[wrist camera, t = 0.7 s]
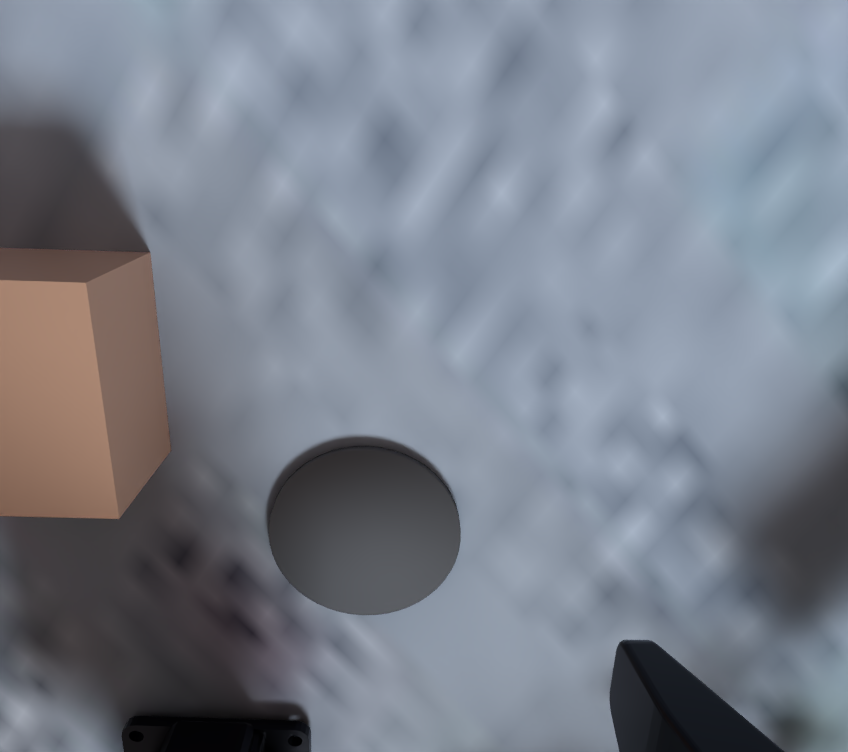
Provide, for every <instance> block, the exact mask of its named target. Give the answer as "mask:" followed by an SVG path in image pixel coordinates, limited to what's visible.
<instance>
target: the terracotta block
mask: <svg viewBox="0 0 848 752" xmlns="http://www.w3.org/2000/svg"><path fill="white" fill-rule="evenodd" d="M170 451H171V445H170V435H169V426H168V416H167V407H166V397H165V388H164V378H163V369H162V359H161V350H160V340H159V331H158V321H157V312H156V302H155V293H154V283H153V274H152V264H151V255H150V252H124V251H92V250H60V249H29V248H0V516H17V517H59V518H101V519H120V517H121V516H122V515H123V513H124V512H125V511H126V509H127V508H128V507H129V505H130V504H131V503H132V502H133V500H134V499H135V498H136V496H137V495H138V494H139V492H140V491H141V490H142V488H143V487H144V486H145V484H146V483H147V482H148V480H149V479H150V478H151V476H152V475H153V474H154V472H155V471H156V470H157V469H158V467H159V466H160V465H161V463H162V462H163V461H164V459H165V458H166V457H167V455H168V454H169V453H170Z"/></svg>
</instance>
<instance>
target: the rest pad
mask: <svg viewBox="0 0 848 752" xmlns="http://www.w3.org/2000/svg"><path fill="white" fill-rule="evenodd" d="M269 540H270V546H271V550H272V554H273V556H274V559H275V561H276V563H277V565H278V567H279V569H280V570H281V572H282V574H283V575H284V576H285V577H286V579H287V580H288V581H289V582H290V583H291V584H292V585H293V586H294V587H295V588H296V589H297V590H298V591H299V592H300V593H302V594H303V595H304V596H306V597H307V598H309V599H310V600H312V601H314V602H316V603H317V604H320V605H322V606H324V607H326V608H329V609H332V610H335V611H339V612H343V613H348V614H356V615H378V614H386V613H391V612H395V611H399V610H401V609H404V608H407V607H410V606H412V605H414V604H416V603H418V602H420V601H421V600H423V599H424V598H426V597H427V596H429V595H430V594H431V593H432V592H433V591H435V590H436V589H437V588H438V587H439V586H440V585H441V584H442V582H443V581H444V580H445V579H446V577H447V576H448V574H449V573H450V571H451V570H452V568H453V565H454V563H455V561H456V558H457V555H458V552H459V546H460V522H459V515H458V511H457V508H456V505H455V502H454V500H453V498H452V496H451V494H450V492H449V491H448V489H447V488H446V486H445V485H444V483H443V482H442V481H441V480H440V479H439V478H438V477H437V475H436V474H434V473H433V472H432V471H431V470H430V469H429V468H427V467H426V466H425V465H423V464H422V463H420V462H419V461H417V460H415V459H413V458H411V457H409V456H407V455H405V454H402V453H399V452H396V451H393V450H389V449H385V448H379V447H369V446H359V447H348V448H341V449H338V450H334V451H330V452H327V453H325V454H322V455H320V456H318V457H316V458H314V459H312V460H310V461H309V462H307V463H306V464H304V465H303V466H302V467H300V468H299V469H298V470H297V471H296V472H295V473H294V474H293V475H292V476H291V477H289V479H288V480H287V481H286V483H285V484H284V485H283V487H282V488H281V490H280V492H279V494H278V496H277V498H276V501H275V503H274V506H273V509H272V512H271V516H270V521H269Z"/></svg>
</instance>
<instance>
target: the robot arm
mask: <svg viewBox="0 0 848 752" xmlns="http://www.w3.org/2000/svg"><path fill="white" fill-rule="evenodd" d="M610 709H611V714H612V719H613V724H614V728H615V733H616V738H617V742H618V747H619V752H784V751H783V750H782V749H781V748H779V747H778V746H777V745H776V744H775V743H774V742H772V741H771V740H770V739H769V738H768V737H766V736H765V735H764V734H763V733H762V732H761V731H759V730H758V729H757V728H756V727H755V726H753V725H752V724H751V723H750V722H749V721H747V720H746V719H745V718H744V717H743V716H742V715H740V714H739V713H738V712H737V711H736V710H734V709H733V708H732V707H731V706H730V705H729V704H727V703H726V702H725V701H724V700H723V699H721V698H720V697H719V696H718V695H717V694H716V693H714V692H713V691H712V690H711V689H710V688H708V687H707V686H706V685H705V684H704V683H702V682H701V681H700V680H699V679H698V678H697V677H695V676H694V675H693V674H692V673H691V672H689V671H688V670H687V669H686V668H685V667H684V666H682V665H681V664H680V663H679V662H678V661H676V660H675V659H674V658H673V657H672V656H670V655H669V654H668V653H667V652H666V651H665V650H663V649H662V648H661V647H660V646H659V645H657V644H656V643H654V642H653V641H649V640H623V641H621V642H620V643H619V645H618V647H617V650H616V655H615V662H614V668H613V674H612V681H611V687H610ZM138 731H139V732H138ZM294 736H299V737H294ZM122 741H123V749H124V752H311V730H310V727H309V726H308V725H307V724H305V723H303V722H300V721H285V720H252V719H220V718H187V717H155V716H135V717H132V718H130V719H129V720H128V722H127V723H126V725H125V727H124V729H123V732H122Z"/></svg>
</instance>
